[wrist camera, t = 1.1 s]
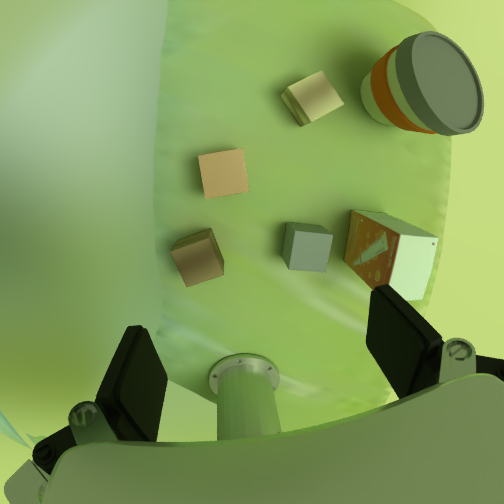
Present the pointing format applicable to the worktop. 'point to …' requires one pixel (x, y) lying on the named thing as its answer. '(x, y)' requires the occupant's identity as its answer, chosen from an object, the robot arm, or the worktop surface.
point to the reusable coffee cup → (425, 87)
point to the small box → (390, 253)
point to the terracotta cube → (223, 173)
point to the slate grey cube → (306, 247)
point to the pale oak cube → (311, 98)
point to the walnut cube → (198, 258)
